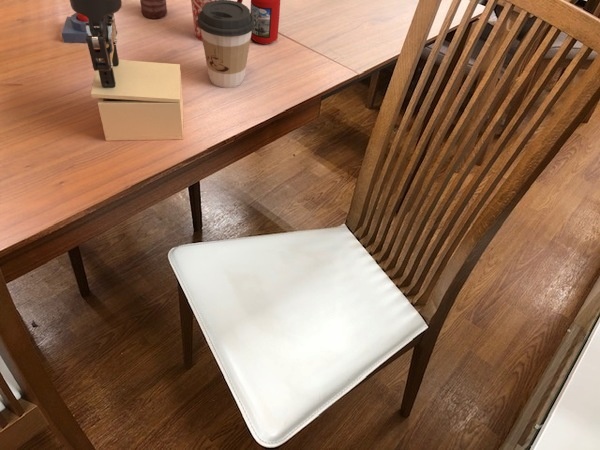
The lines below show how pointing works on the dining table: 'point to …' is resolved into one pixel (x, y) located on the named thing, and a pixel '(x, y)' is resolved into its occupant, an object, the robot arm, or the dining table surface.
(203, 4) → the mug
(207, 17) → the coffee cup
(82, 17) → the button
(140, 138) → the chest
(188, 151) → the dining table surface
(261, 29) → the beverage can
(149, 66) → the lid
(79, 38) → the button box
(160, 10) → the can
